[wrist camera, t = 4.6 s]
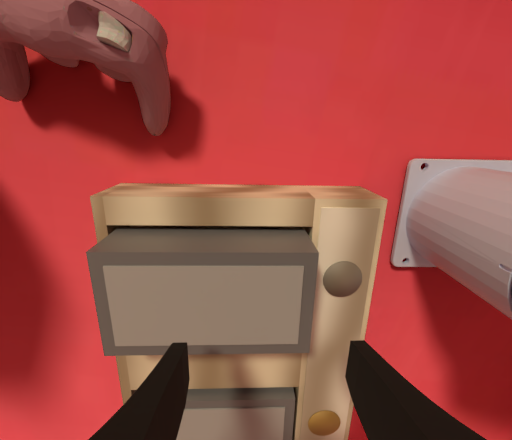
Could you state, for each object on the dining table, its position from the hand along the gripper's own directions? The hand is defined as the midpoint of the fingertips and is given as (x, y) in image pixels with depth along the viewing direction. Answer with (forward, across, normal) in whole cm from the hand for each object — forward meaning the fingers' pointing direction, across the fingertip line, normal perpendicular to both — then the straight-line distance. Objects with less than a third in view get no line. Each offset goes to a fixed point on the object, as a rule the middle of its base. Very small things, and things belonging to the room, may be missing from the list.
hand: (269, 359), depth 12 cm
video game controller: (+10, +10, -13) cm, 19 cm away
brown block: (+8, +3, +11) cm, 14 cm away
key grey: (+6, +3, -1) cm, 7 cm away
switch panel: (+9, +1, +5) cm, 11 cm away
